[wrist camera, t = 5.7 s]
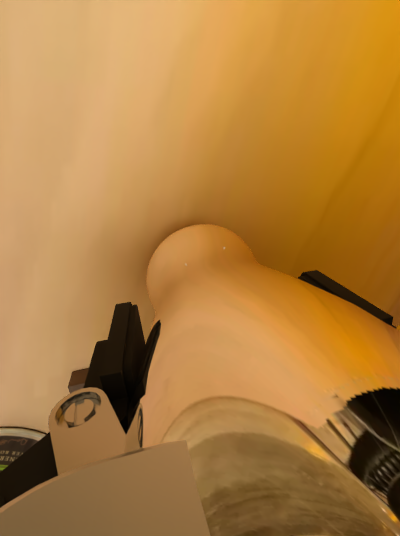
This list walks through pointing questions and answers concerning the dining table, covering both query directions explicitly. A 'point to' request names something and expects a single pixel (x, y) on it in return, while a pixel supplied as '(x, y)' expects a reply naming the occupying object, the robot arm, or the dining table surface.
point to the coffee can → (16, 443)
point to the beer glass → (269, 393)
